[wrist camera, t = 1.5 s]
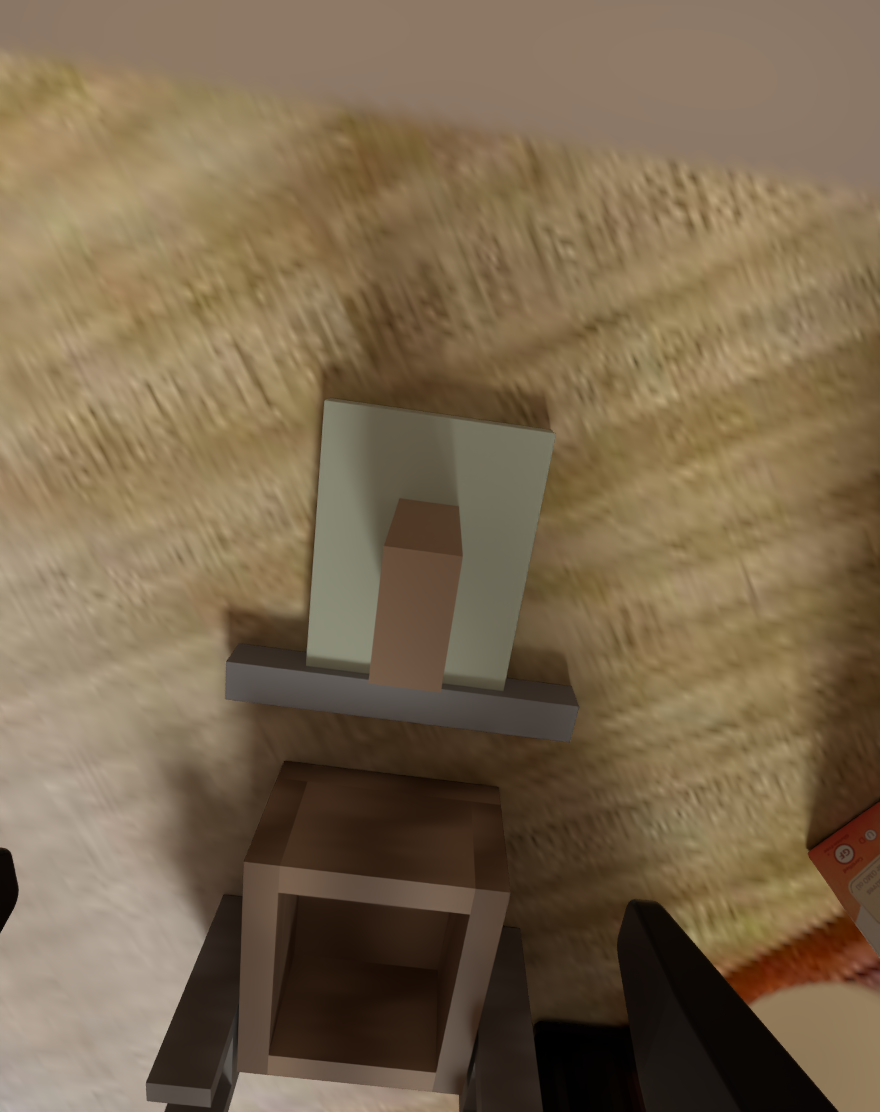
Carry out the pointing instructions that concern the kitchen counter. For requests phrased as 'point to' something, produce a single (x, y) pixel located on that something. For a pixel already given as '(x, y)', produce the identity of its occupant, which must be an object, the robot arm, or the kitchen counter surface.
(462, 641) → the door
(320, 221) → the kitchen counter surface
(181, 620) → the kitchen counter surface
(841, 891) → the cracker box
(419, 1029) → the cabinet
